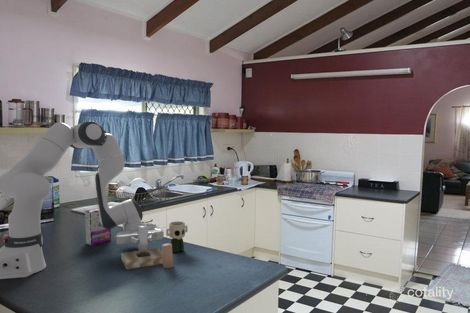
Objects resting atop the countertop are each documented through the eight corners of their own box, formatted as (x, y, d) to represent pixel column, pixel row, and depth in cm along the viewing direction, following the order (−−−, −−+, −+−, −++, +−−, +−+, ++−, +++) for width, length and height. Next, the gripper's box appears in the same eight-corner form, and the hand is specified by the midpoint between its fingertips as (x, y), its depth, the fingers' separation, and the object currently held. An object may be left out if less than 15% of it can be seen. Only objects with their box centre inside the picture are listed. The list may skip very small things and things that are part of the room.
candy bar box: (105, 238, 195) (104, 206, 194) (111, 240, 192) (110, 207, 191) (85, 243, 187) (84, 210, 185) (91, 245, 184) (90, 211, 182)
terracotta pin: (167, 269, 155) (165, 247, 154) (161, 266, 158) (159, 245, 157) (175, 266, 158) (173, 244, 156) (169, 263, 161) (168, 242, 159)
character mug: (170, 255, 171) (170, 226, 170) (162, 251, 176) (162, 223, 175) (191, 250, 178) (191, 223, 176) (183, 246, 183) (183, 219, 182)
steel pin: (139, 261, 161) (139, 228, 159) (137, 258, 164) (137, 226, 163) (149, 260, 162) (148, 227, 161) (146, 257, 166) (146, 225, 165)
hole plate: (126, 269, 154) (126, 262, 154) (121, 259, 165) (121, 252, 165) (165, 263, 161) (165, 256, 161) (158, 254, 172) (158, 247, 172)
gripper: (112, 228, 169) (117, 236, 157) (158, 223, 178) (166, 230, 166) (112, 242, 170) (118, 251, 157) (158, 236, 179) (167, 245, 166)
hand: (143, 240), depth 162 cm, fingers closed on steel pin, 4 cm apart
